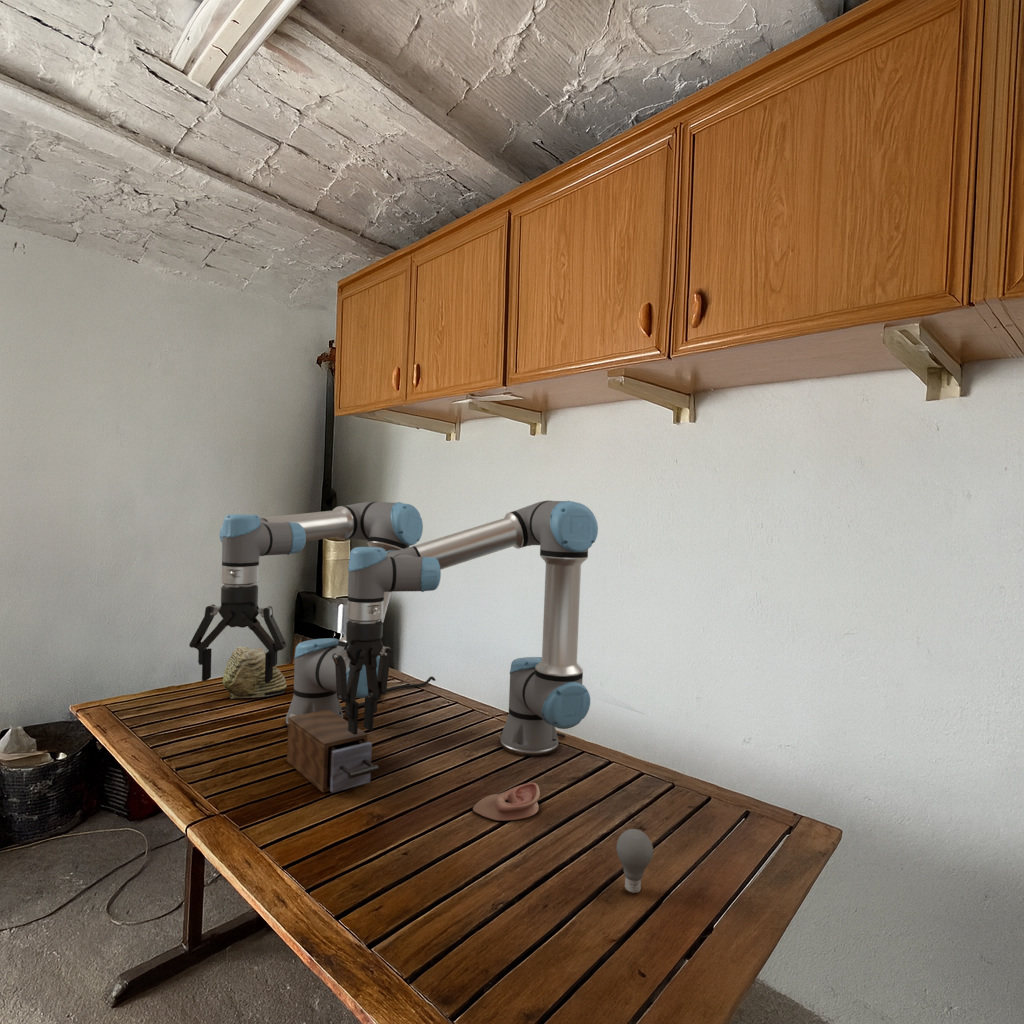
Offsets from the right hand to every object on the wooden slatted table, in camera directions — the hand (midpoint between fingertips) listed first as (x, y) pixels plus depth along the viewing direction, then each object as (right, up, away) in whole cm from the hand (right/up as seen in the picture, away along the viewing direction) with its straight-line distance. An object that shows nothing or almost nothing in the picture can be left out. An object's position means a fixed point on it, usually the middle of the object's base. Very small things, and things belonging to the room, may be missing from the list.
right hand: (360, 730), depth 134 cm
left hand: (-28, +9, +6) cm, 30 cm away
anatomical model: (+31, -16, -2) cm, 35 cm away
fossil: (-48, -11, +64) cm, 81 cm away
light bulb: (+52, -17, -29) cm, 62 cm away
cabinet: (-11, -14, +12) cm, 21 cm away
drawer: (-7, -13, +7) cm, 16 cm away
